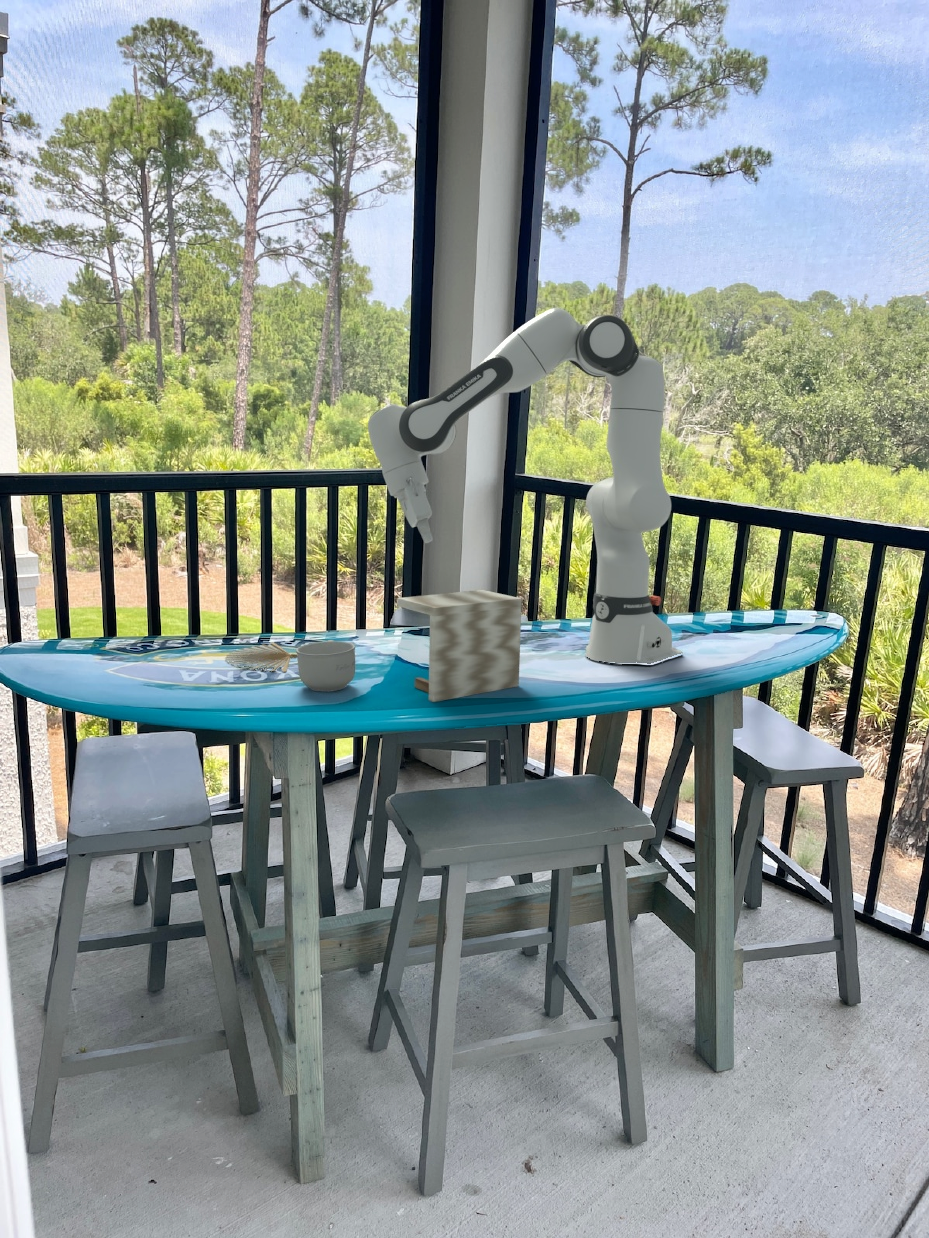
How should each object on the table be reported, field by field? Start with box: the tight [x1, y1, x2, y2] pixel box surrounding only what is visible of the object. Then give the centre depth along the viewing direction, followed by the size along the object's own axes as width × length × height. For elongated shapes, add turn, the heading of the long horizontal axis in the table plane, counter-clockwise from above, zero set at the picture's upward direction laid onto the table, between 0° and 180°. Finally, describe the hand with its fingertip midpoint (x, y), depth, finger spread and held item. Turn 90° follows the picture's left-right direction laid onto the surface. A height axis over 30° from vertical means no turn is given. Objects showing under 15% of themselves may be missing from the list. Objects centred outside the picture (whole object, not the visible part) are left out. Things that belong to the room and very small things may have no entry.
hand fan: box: [225, 642, 297, 673], centre depth 189 cm, size 26×1×15 cm
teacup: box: [295, 639, 356, 693], centre depth 168 cm, size 14×11×8 cm
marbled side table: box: [396, 589, 523, 703], centre depth 168 cm, size 20×12×17 cm, turn 127°
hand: (429, 542), depth 193 cm, fingers closed
